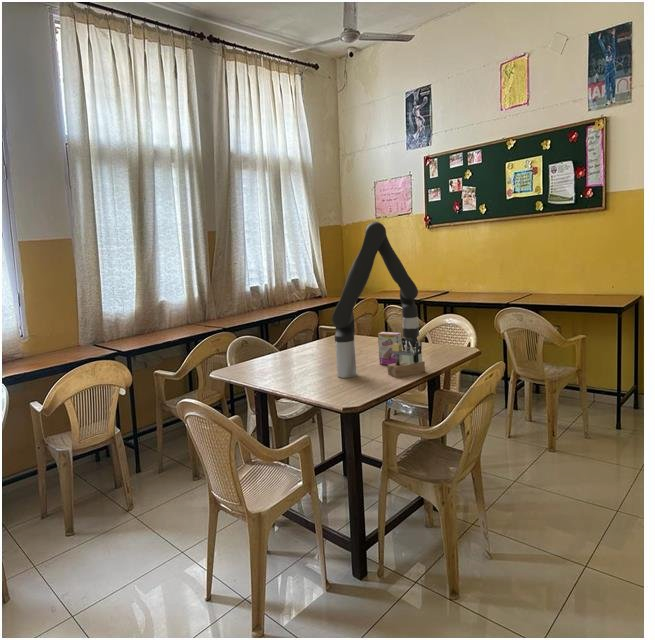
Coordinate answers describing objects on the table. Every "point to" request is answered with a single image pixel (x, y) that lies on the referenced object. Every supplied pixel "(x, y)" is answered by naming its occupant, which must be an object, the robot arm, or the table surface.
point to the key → (399, 352)
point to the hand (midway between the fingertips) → (412, 361)
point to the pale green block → (411, 358)
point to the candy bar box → (388, 347)
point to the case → (405, 369)
